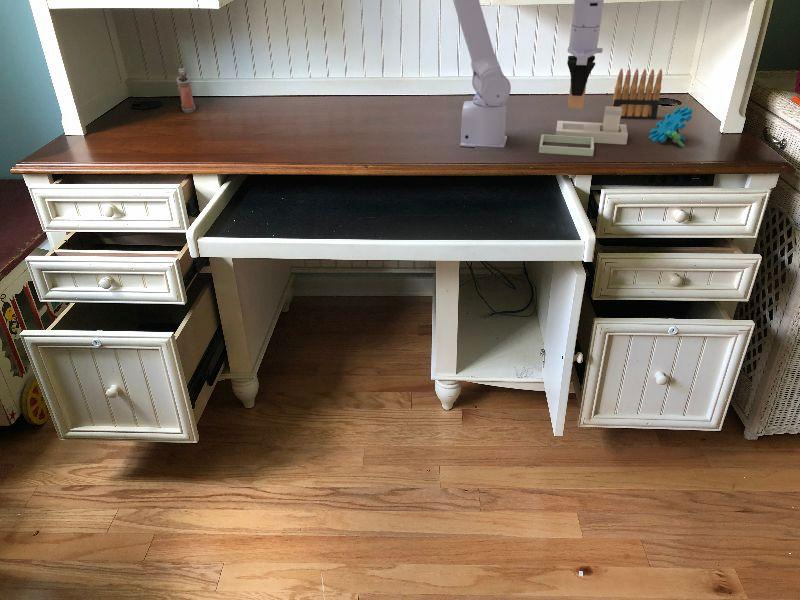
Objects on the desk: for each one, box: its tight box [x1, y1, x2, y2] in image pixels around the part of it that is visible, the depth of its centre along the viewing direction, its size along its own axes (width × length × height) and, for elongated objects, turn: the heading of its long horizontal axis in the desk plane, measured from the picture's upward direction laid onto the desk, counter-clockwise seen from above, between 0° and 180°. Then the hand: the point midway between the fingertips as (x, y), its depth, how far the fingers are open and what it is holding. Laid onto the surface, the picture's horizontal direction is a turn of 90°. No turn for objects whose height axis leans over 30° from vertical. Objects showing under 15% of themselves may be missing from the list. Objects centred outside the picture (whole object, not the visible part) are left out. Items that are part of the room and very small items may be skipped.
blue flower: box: [648, 105, 693, 147], centre depth 139 cm, size 11×6×10 cm
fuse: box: [602, 105, 622, 132], centre depth 140 cm, size 3×3×6 cm
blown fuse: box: [567, 78, 589, 110], centre depth 138 cm, size 3×3×6 cm
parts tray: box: [538, 133, 595, 157], centre depth 136 cm, size 11×8×2 cm
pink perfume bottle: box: [176, 68, 196, 113], centre depth 167 cm, size 8×3×10 cm, turn 17°
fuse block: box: [555, 120, 629, 146], centre depth 142 cm, size 15×8×3 cm, turn 76°
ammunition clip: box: [611, 68, 663, 120], centre depth 152 cm, size 11×2×12 cm, turn 82°
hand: (577, 93), depth 138 cm, fingers closed on blown fuse, 3 cm apart
